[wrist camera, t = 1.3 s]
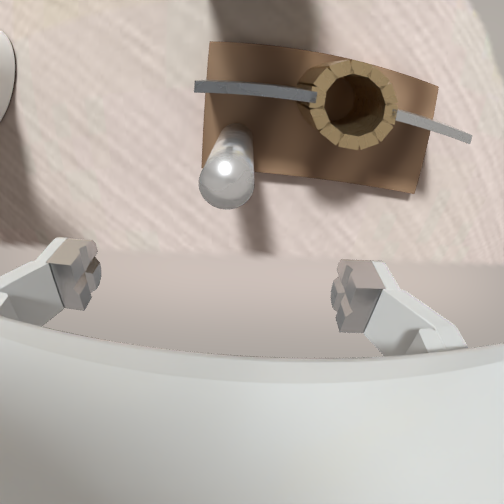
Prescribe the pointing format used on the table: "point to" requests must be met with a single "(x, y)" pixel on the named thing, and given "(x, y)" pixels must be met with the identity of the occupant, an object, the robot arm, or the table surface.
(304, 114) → the hinge
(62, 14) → the table surface
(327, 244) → the table surface
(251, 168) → the hinge pin
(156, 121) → the table surface
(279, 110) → the walnut base
